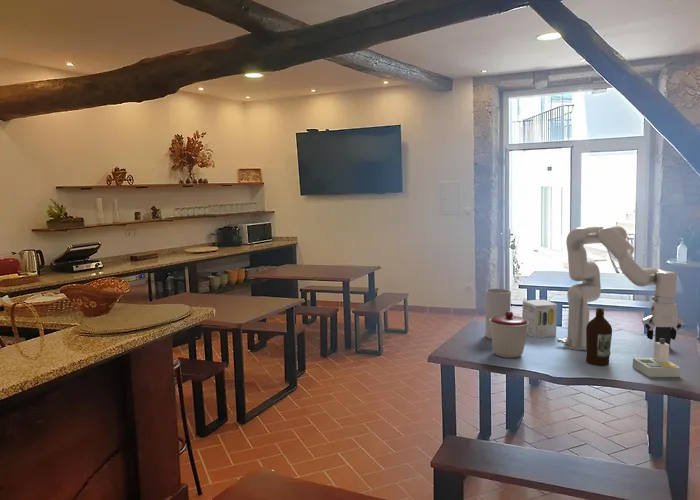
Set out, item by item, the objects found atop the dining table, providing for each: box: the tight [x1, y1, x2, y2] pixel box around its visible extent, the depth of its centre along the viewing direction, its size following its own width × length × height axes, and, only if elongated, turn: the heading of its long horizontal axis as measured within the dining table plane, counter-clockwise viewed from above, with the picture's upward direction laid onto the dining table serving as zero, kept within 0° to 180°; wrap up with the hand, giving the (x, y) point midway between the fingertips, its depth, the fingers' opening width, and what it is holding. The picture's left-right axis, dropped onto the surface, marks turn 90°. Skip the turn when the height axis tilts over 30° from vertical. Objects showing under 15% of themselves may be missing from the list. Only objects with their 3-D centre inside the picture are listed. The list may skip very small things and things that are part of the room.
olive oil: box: [585, 307, 613, 367], centre depth 241 cm, size 11×11×25 cm
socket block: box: [632, 357, 681, 378], centre depth 230 cm, size 13×13×4 cm
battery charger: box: [654, 326, 672, 349], centre depth 266 cm, size 7×4×11 cm, turn 62°
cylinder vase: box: [484, 288, 512, 340], centre depth 283 cm, size 12×12×25 cm
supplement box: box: [521, 299, 558, 339], centre depth 289 cm, size 13×13×18 cm
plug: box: [653, 338, 670, 363], centre depth 232 cm, size 4×4×14 cm
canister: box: [489, 310, 529, 359], centre depth 253 cm, size 18×18×21 cm
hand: (661, 338), depth 231 cm, fingers open, 9 cm apart
